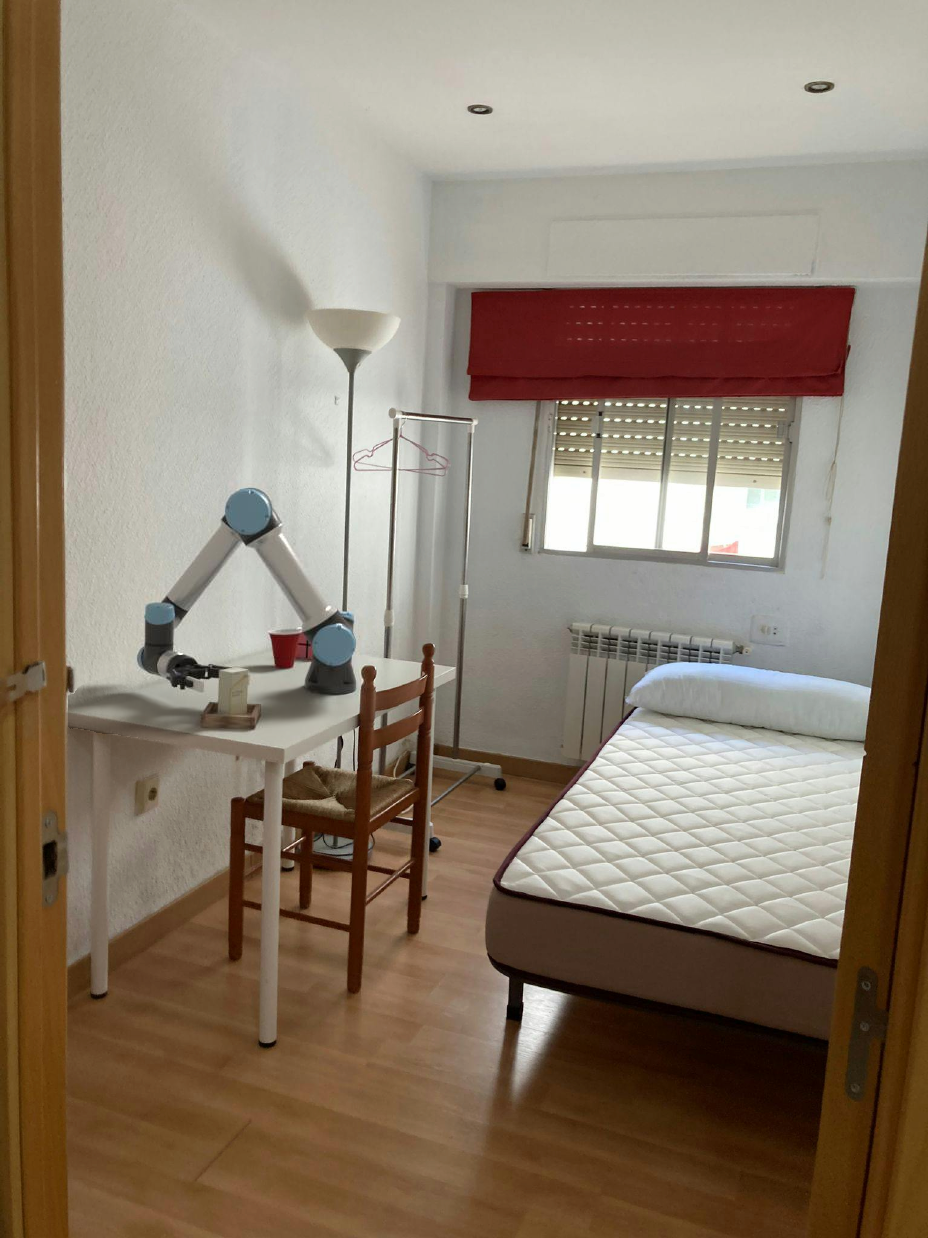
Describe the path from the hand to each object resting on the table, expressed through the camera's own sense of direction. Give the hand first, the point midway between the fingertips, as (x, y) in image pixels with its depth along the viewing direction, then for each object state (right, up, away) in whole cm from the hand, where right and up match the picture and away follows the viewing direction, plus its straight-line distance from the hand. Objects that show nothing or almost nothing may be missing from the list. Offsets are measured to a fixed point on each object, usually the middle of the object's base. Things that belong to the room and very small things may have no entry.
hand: (226, 683), depth 237 cm
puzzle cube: (+8, +3, +85) cm, 86 cm away
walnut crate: (+1, -9, 0) cm, 10 cm away
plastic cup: (+2, +1, +67) cm, 67 cm away
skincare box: (+2, -9, 0) cm, 9 cm away
